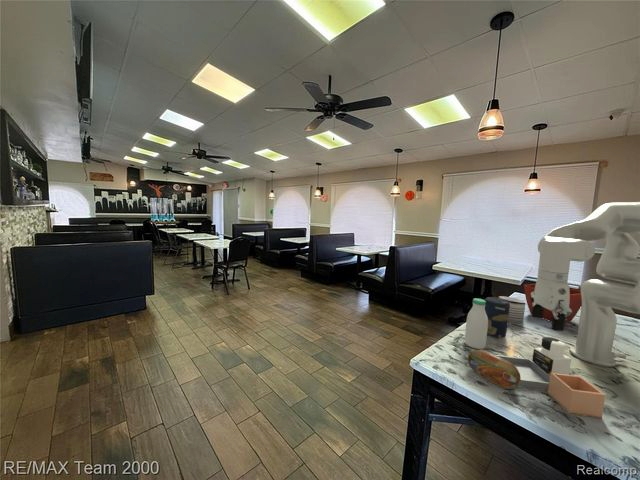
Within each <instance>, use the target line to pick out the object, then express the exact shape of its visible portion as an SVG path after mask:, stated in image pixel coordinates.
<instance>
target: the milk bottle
mask: <svg viewBox="0 0 640 480" xmlns="http://www.w3.org/2000/svg"><path fill="white" fill-rule="evenodd" d="M485 305H486V301H485V299H482V298H476V297H475V298H473V299H472V307H471V309H470V310H469V312H468V314H467V316H466V323H465V330H464V331H465V333H464V344H465V345H467V346H468V347H470V348H473V349H475V350H484V349H485V348H486V345H487V336H488V335H487V329H488V318H487V315H486V312H485Z"/></svg>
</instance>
